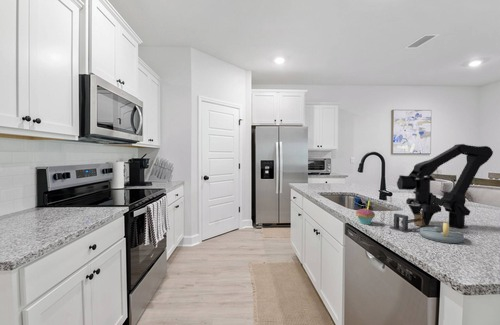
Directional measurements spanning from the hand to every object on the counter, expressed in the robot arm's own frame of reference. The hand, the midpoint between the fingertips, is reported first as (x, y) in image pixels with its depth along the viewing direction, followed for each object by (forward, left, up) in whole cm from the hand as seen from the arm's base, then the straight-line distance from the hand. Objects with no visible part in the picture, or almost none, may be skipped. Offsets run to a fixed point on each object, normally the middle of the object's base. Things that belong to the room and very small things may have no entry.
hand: (422, 222), depth 117 cm
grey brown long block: (+6, 0, -1) cm, 6 cm away
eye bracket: (+16, 0, -1) cm, 16 cm away
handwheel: (+12, +14, -1) cm, 18 cm away
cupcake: (+22, -14, -2) cm, 26 cm away
